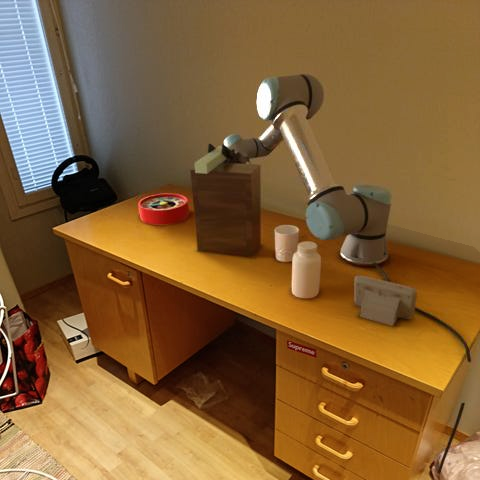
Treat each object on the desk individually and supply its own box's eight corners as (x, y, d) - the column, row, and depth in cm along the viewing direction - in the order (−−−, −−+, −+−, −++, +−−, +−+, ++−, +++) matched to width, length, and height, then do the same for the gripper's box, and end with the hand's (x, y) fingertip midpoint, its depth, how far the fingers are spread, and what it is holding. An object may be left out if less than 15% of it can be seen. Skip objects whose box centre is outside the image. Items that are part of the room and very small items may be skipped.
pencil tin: (207, 173, 136) (206, 163, 134) (195, 172, 137) (194, 162, 135) (231, 155, 153) (230, 146, 151) (220, 154, 154) (219, 145, 152)
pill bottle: (300, 282, 135) (303, 236, 127) (323, 290, 131) (328, 243, 123) (285, 293, 130) (287, 246, 122) (309, 302, 126) (312, 254, 118)
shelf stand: (252, 258, 150) (251, 173, 134) (197, 251, 156) (190, 169, 140) (260, 245, 158) (260, 164, 142) (208, 239, 163) (202, 161, 148)
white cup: (296, 263, 146) (297, 235, 140) (272, 262, 147) (272, 233, 142) (298, 253, 152) (300, 225, 146) (275, 251, 154) (276, 224, 148)
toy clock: (192, 206, 176) (141, 213, 171) (193, 220, 179) (143, 227, 174) (182, 191, 192) (135, 196, 187) (183, 204, 195) (137, 210, 190)
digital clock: (416, 318, 118) (424, 283, 112) (400, 334, 113) (408, 298, 107) (361, 297, 127) (366, 264, 121) (344, 311, 122) (348, 276, 116)
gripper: (257, 179, 165) (239, 161, 142) (214, 176, 169) (190, 158, 147) (260, 158, 164) (242, 137, 141) (217, 156, 169) (193, 135, 146)
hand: (216, 148), depth 144 cm, fingers closed on pencil tin, 4 cm apart
